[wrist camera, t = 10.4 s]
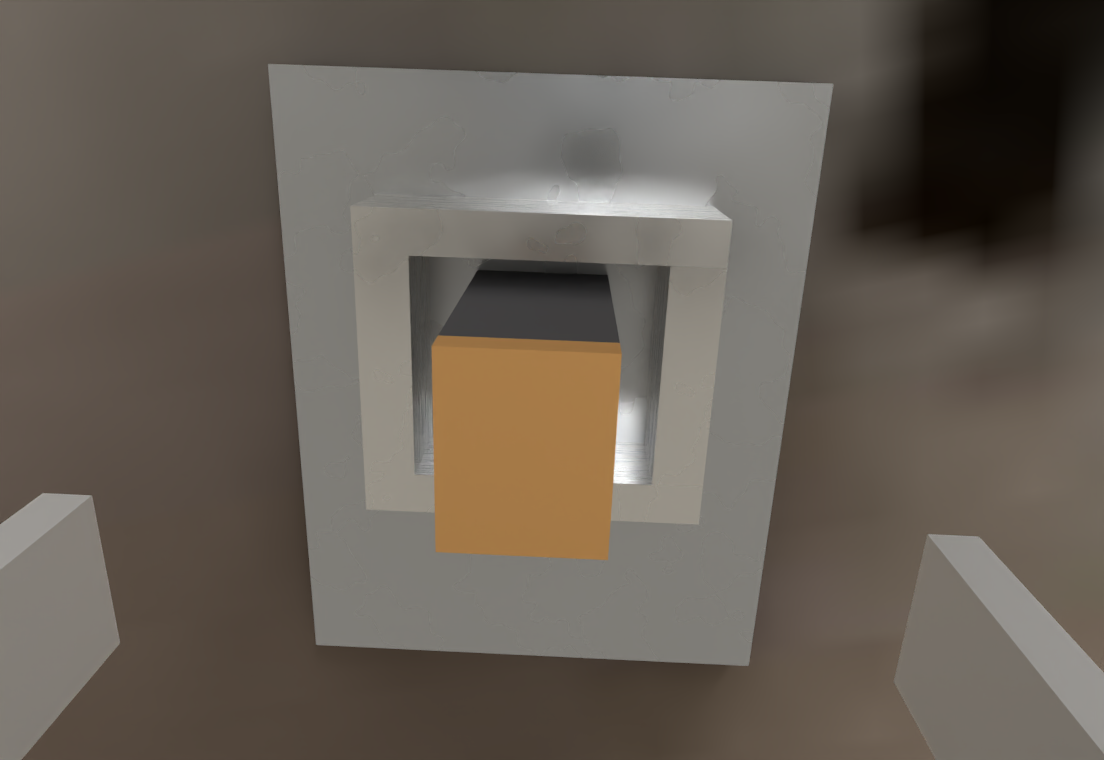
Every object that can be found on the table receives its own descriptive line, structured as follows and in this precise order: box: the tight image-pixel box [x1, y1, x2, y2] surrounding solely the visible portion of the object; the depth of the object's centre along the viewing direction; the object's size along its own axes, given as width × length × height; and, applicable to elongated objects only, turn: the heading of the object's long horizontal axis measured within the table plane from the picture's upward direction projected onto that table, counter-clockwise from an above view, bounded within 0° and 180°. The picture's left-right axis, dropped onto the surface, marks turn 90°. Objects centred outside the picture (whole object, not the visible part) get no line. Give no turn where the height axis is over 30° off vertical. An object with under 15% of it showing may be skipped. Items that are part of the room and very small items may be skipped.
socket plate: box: [268, 64, 833, 666], centre depth 24 cm, size 20×16×4 cm
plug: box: [432, 270, 622, 560], centre depth 21 cm, size 5×4×8 cm
